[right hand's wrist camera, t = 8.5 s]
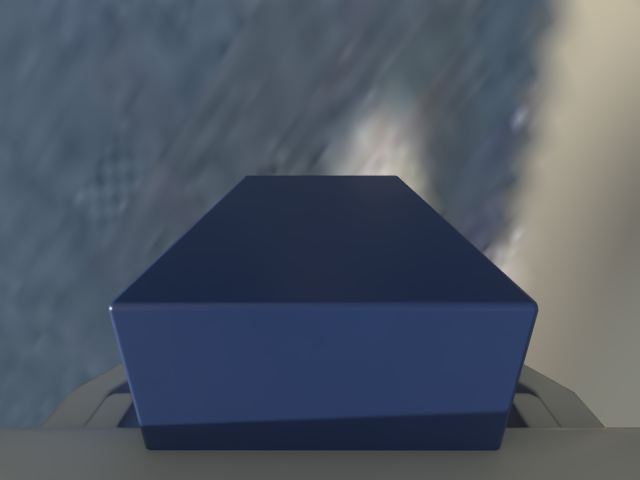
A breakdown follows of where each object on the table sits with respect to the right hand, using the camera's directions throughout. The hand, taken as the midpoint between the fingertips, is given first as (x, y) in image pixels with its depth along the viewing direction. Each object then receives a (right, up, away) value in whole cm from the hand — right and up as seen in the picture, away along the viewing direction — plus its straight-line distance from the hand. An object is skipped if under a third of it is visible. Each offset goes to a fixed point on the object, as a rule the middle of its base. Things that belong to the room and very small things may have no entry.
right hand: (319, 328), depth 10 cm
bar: (0, -6, +5) cm, 8 cm away
